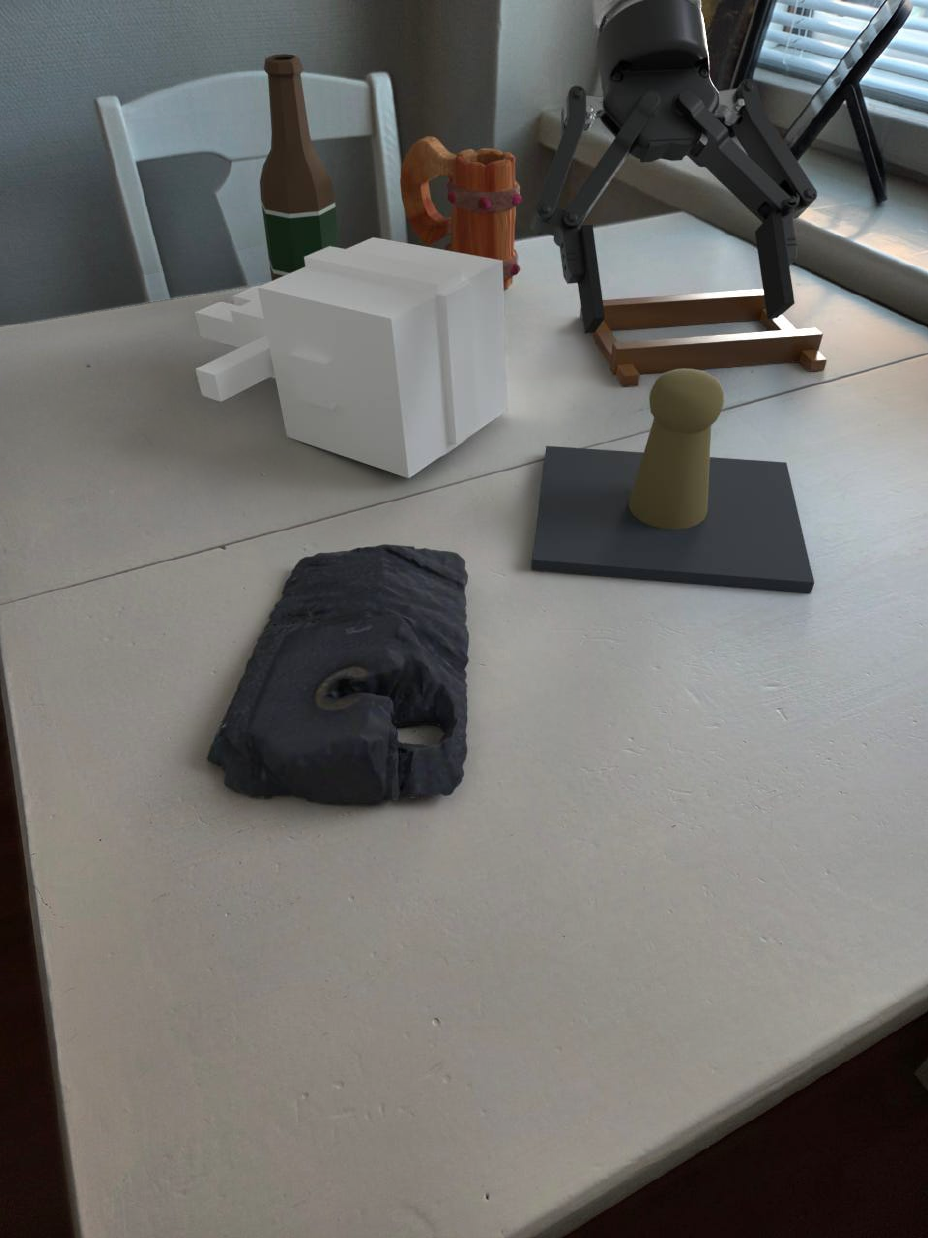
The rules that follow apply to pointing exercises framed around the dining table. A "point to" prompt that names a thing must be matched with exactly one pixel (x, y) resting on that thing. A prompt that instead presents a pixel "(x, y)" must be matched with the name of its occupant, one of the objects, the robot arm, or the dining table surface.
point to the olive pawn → (677, 450)
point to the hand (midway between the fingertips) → (689, 319)
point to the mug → (464, 201)
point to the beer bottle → (293, 176)
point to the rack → (702, 350)
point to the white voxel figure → (371, 350)
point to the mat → (703, 554)
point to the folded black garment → (354, 681)
